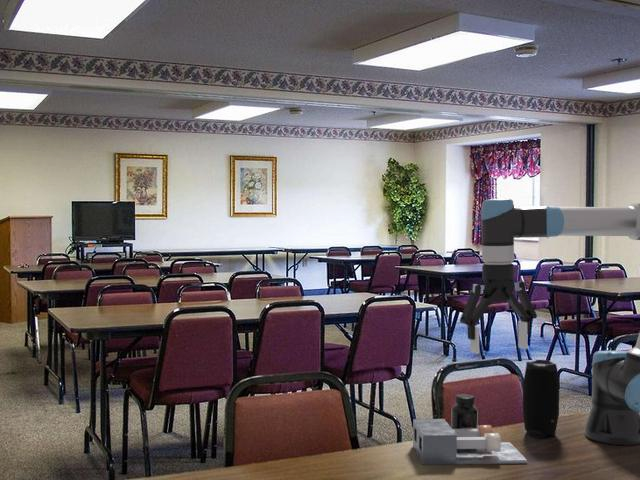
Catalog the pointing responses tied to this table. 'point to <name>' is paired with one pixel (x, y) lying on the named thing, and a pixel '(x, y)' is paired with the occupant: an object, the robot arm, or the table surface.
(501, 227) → the robot arm
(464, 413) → the supplement bottle
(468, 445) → the knob cream
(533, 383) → the portable speaker
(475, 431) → the knob terracotta
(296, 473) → the table surface
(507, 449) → the mount
